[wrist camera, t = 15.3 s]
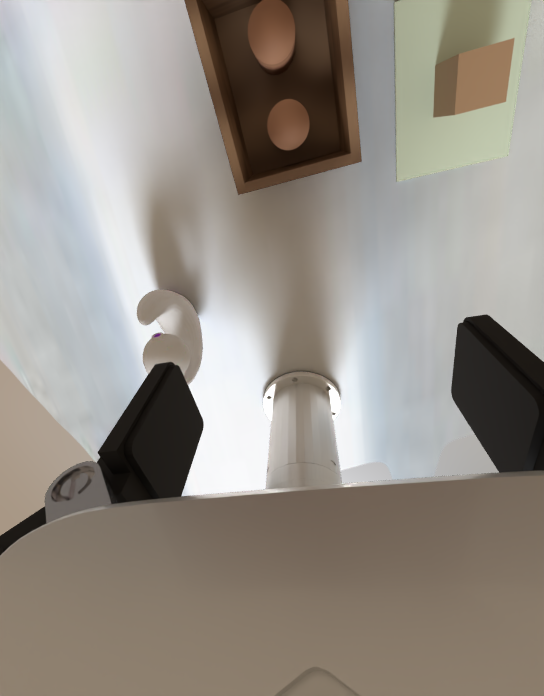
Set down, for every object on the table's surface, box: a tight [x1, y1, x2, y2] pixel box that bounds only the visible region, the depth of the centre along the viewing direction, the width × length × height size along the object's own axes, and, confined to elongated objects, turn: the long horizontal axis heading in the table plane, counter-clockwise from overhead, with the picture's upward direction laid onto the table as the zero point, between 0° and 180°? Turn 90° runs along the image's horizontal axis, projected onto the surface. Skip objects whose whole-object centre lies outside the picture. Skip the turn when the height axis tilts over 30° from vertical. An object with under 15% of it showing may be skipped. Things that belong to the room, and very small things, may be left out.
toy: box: [137, 290, 203, 385], centre depth 39 cm, size 11×7×15 cm, turn 21°
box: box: [185, 0, 362, 195], centre depth 28 cm, size 14×11×8 cm
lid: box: [394, 0, 531, 182], centre depth 28 cm, size 14×11×6 cm
